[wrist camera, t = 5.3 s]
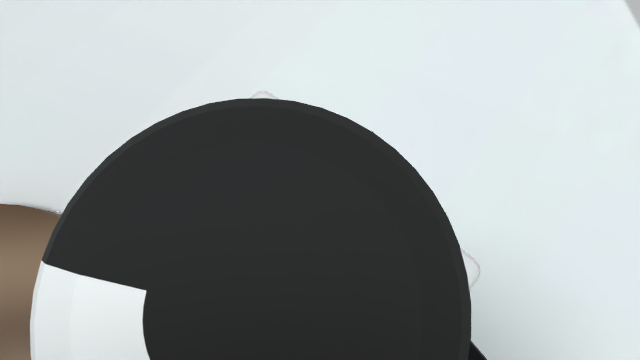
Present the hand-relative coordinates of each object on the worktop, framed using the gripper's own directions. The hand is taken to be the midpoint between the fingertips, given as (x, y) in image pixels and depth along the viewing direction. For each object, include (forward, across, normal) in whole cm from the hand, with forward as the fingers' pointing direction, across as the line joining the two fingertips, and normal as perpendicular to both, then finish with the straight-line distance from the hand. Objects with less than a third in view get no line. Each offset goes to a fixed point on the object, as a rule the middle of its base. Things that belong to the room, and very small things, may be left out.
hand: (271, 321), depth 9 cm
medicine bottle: (+6, 0, +5) cm, 8 cm away
